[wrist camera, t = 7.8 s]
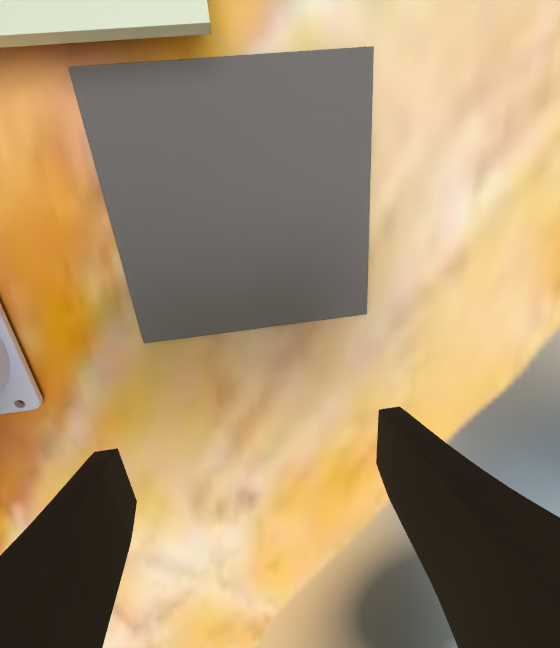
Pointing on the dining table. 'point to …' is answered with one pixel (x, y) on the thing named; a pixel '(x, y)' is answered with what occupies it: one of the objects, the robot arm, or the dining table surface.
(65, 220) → the dining table surface
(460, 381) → the dining table surface
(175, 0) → the lid
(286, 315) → the mat
